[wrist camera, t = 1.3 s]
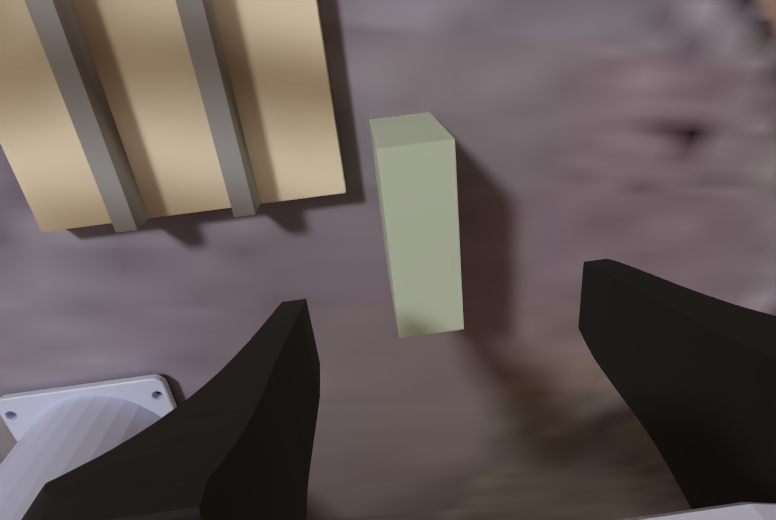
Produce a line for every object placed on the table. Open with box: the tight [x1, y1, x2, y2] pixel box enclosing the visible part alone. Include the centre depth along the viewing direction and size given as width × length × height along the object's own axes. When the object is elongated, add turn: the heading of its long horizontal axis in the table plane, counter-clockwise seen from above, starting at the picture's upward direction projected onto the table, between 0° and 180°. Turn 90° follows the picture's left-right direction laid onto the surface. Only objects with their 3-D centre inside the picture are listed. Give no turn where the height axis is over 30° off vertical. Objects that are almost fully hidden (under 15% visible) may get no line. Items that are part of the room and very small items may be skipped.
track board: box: [0, 0, 346, 233], centre depth 17 cm, size 10×12×2 cm
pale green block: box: [369, 112, 464, 338], centre depth 18 cm, size 7×2×5 cm, turn 6°
